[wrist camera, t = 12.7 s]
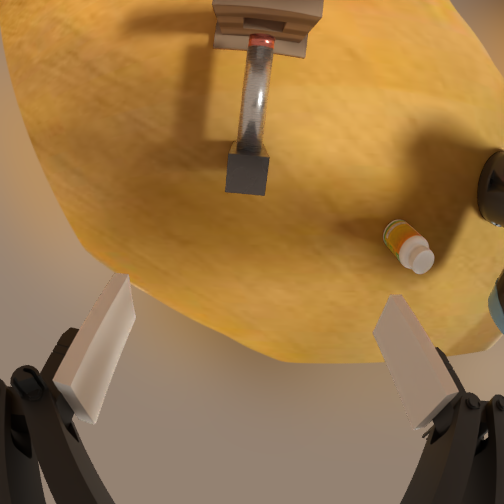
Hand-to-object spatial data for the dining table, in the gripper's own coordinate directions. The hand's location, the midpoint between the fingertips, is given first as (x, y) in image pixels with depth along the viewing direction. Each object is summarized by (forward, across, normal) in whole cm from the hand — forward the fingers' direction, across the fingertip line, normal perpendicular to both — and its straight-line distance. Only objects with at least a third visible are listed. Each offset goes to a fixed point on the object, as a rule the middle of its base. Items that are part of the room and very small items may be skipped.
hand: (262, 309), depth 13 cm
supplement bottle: (+29, -25, +6) cm, 39 cm away
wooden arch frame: (+29, +1, -21) cm, 36 cm away
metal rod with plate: (+28, +1, -9) cm, 30 cm away
